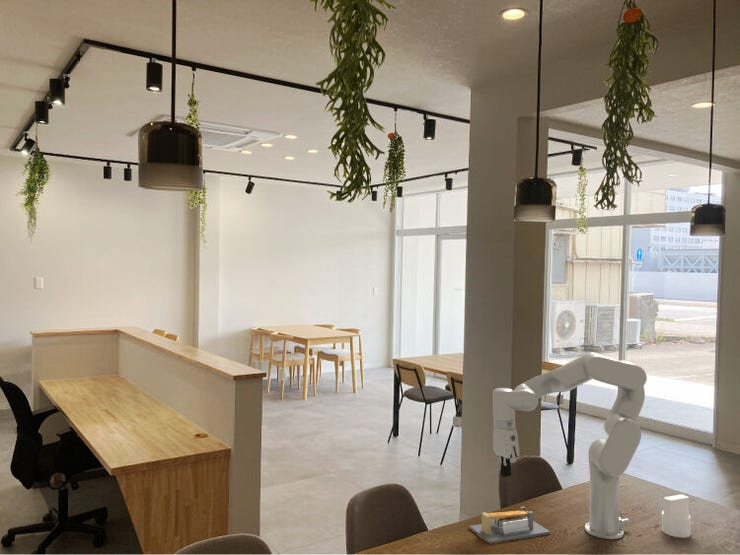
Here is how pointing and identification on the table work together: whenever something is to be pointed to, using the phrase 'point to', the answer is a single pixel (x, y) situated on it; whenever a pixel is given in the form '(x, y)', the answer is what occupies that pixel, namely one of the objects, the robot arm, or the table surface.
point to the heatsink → (510, 525)
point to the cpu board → (495, 536)
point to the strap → (508, 514)
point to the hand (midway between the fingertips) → (506, 475)
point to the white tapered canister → (676, 516)
